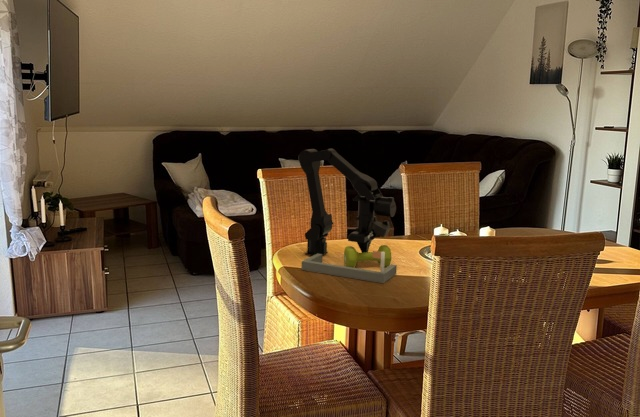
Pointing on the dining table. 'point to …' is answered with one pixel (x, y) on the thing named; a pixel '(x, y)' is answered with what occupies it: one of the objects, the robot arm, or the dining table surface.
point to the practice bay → (350, 269)
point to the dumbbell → (365, 256)
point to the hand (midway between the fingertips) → (364, 256)
